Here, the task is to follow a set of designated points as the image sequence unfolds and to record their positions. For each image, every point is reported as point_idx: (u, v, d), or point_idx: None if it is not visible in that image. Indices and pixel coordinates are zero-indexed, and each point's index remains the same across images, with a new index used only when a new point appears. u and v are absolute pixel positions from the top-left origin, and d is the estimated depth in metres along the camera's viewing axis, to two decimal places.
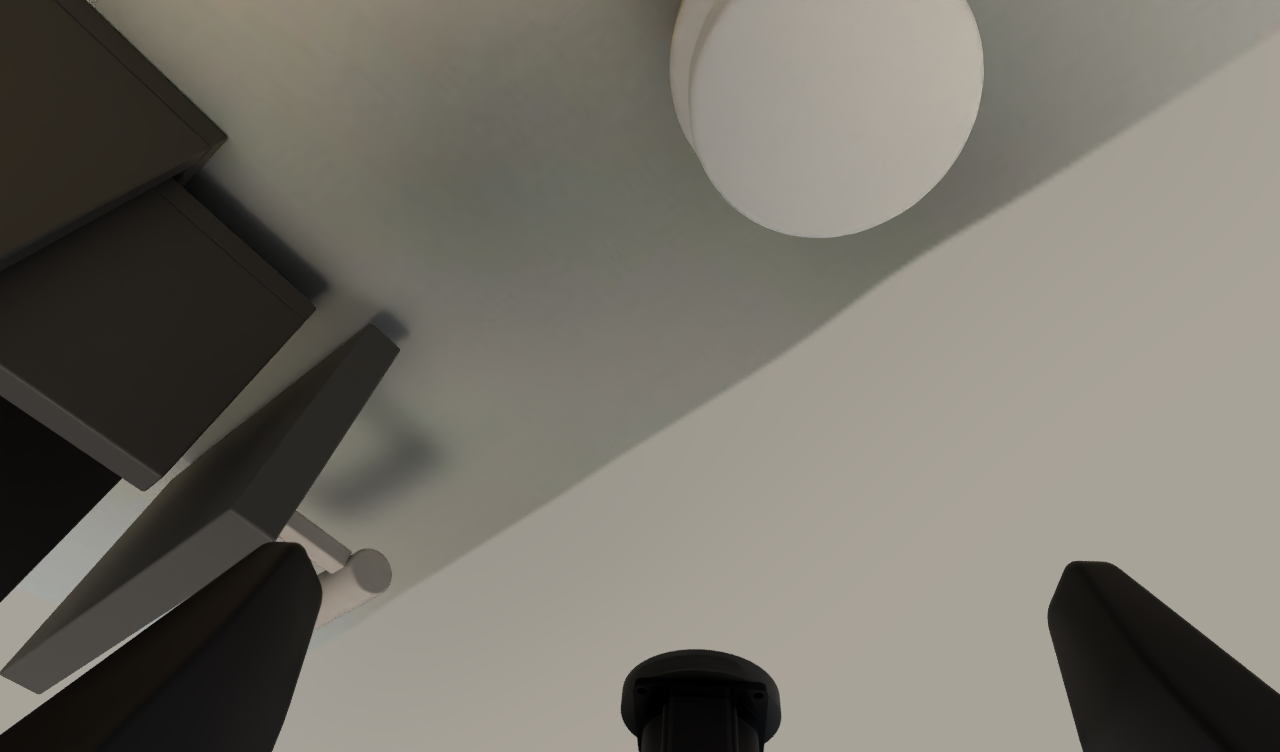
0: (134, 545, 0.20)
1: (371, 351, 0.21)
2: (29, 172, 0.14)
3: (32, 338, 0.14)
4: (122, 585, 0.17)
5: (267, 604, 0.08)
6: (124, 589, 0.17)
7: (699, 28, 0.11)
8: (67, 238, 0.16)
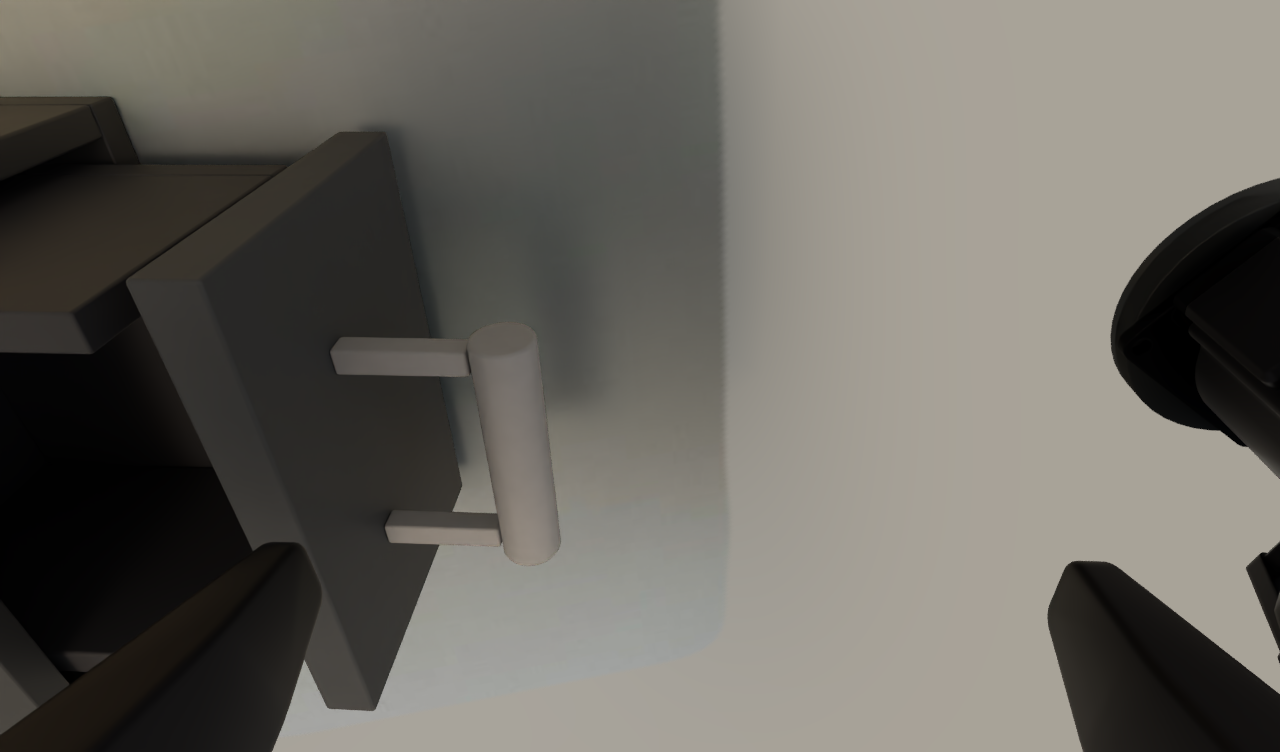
0: None
1: (340, 143, 0.16)
2: None
3: None
4: (230, 502, 0.13)
5: (267, 604, 0.08)
6: (234, 504, 0.13)
7: None
8: None
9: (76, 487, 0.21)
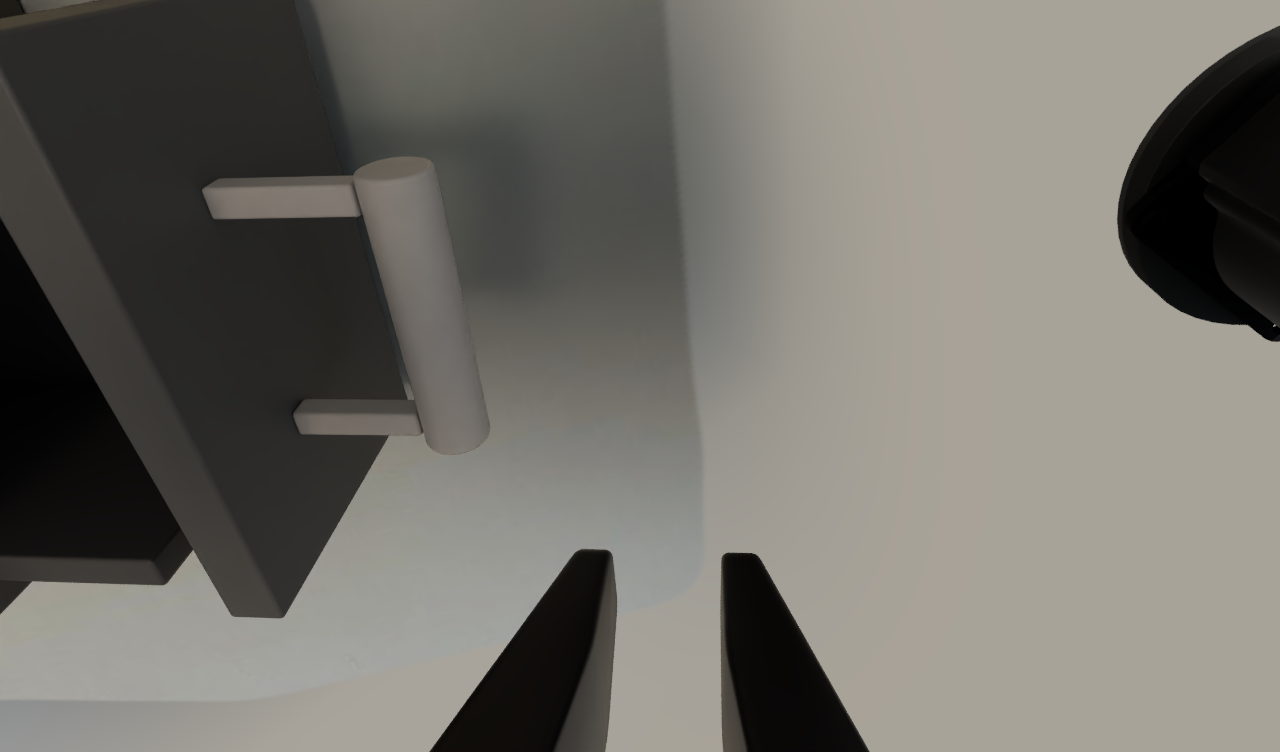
0: None
1: None
2: None
3: None
4: (77, 347, 0.12)
5: (604, 615, 0.08)
6: (81, 350, 0.11)
7: None
8: None
9: None
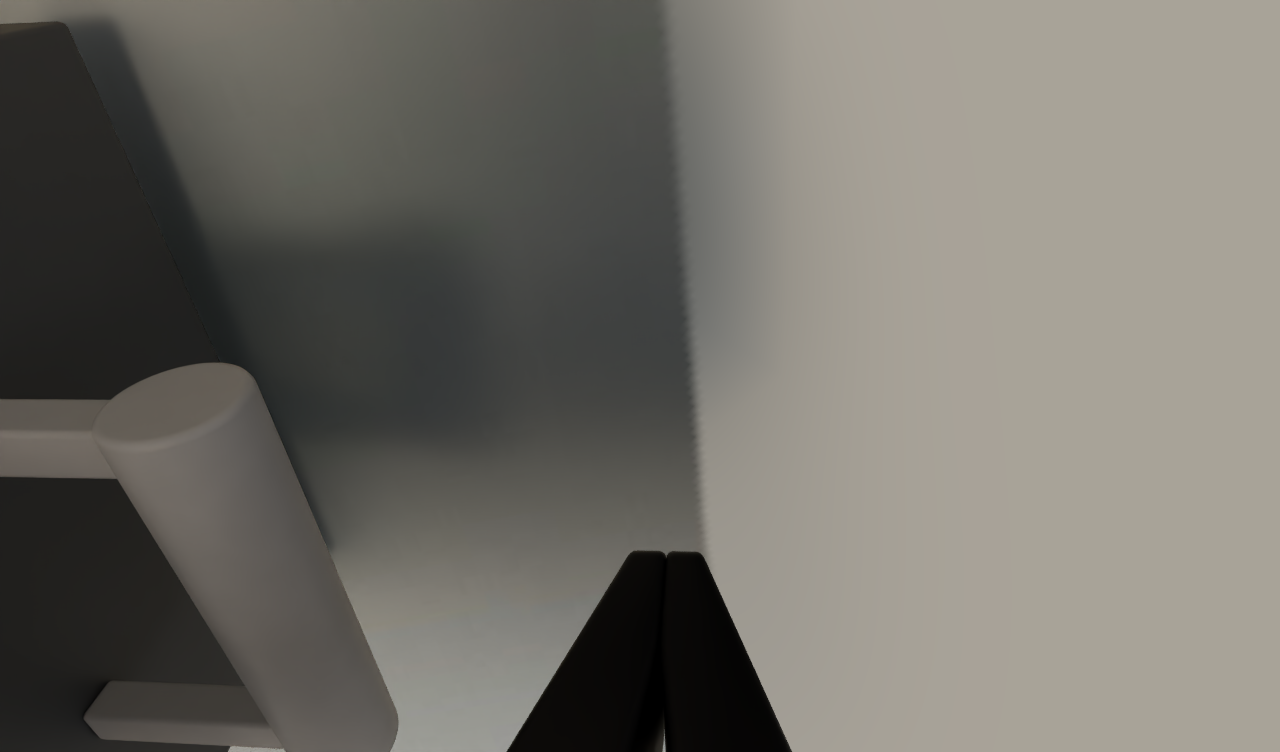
0: None
1: None
2: None
3: None
4: None
5: None
6: None
7: None
8: None
9: None
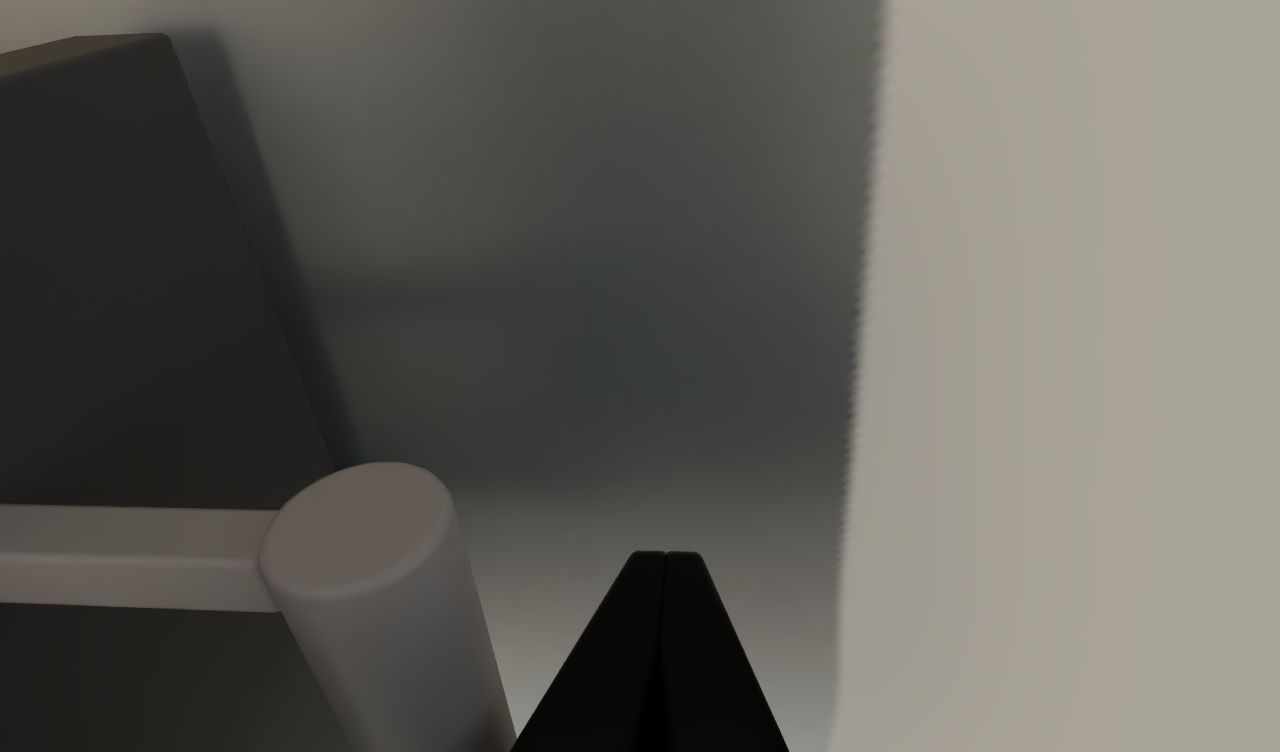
0: None
1: (44, 51, 0.07)
2: None
3: None
4: None
5: None
6: None
7: None
8: None
9: None
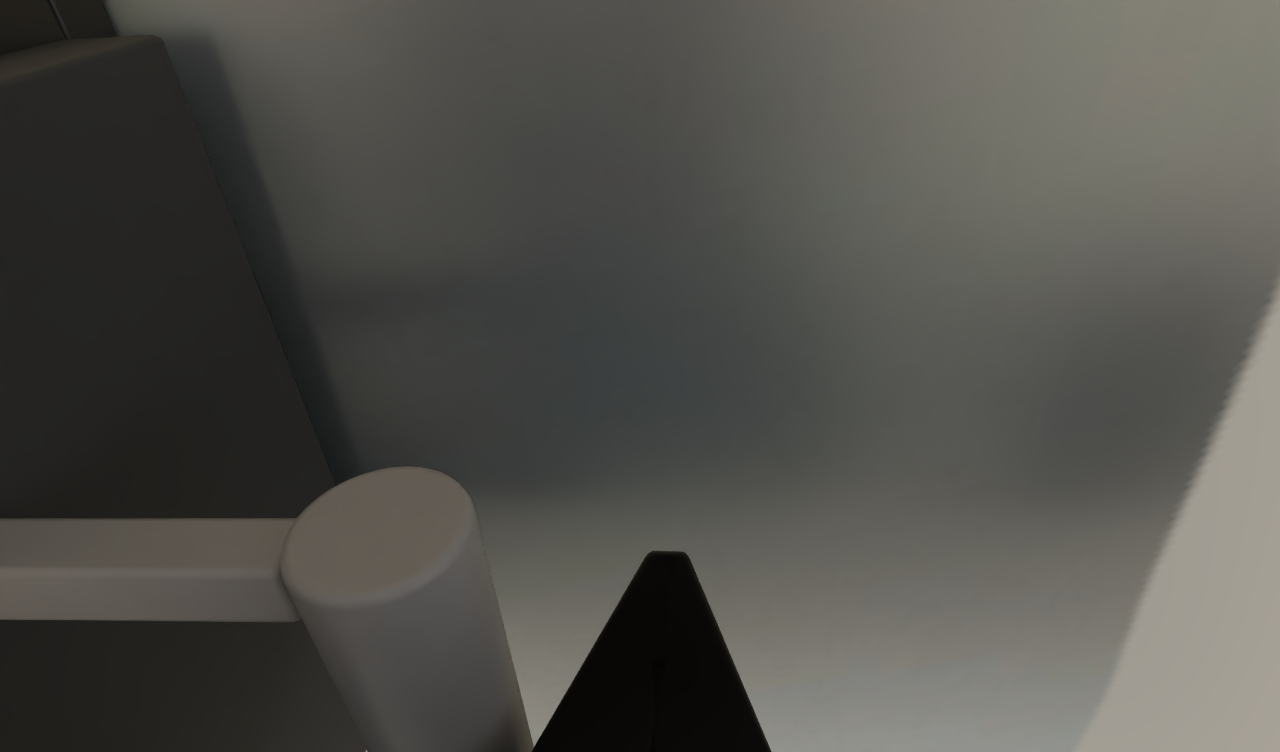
0: None
1: (34, 54, 0.07)
2: None
3: None
4: None
5: None
6: None
7: None
8: None
9: None
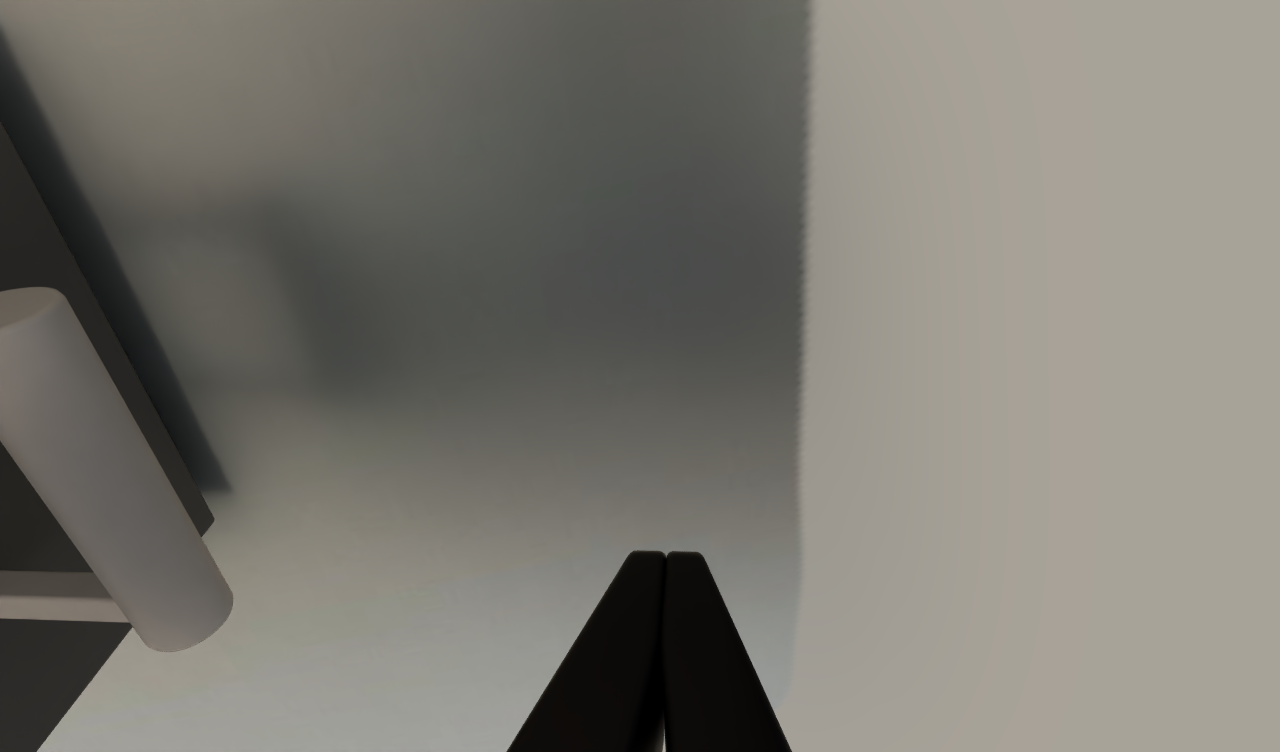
0: None
1: None
2: None
3: None
4: None
5: None
6: None
7: None
8: None
9: None
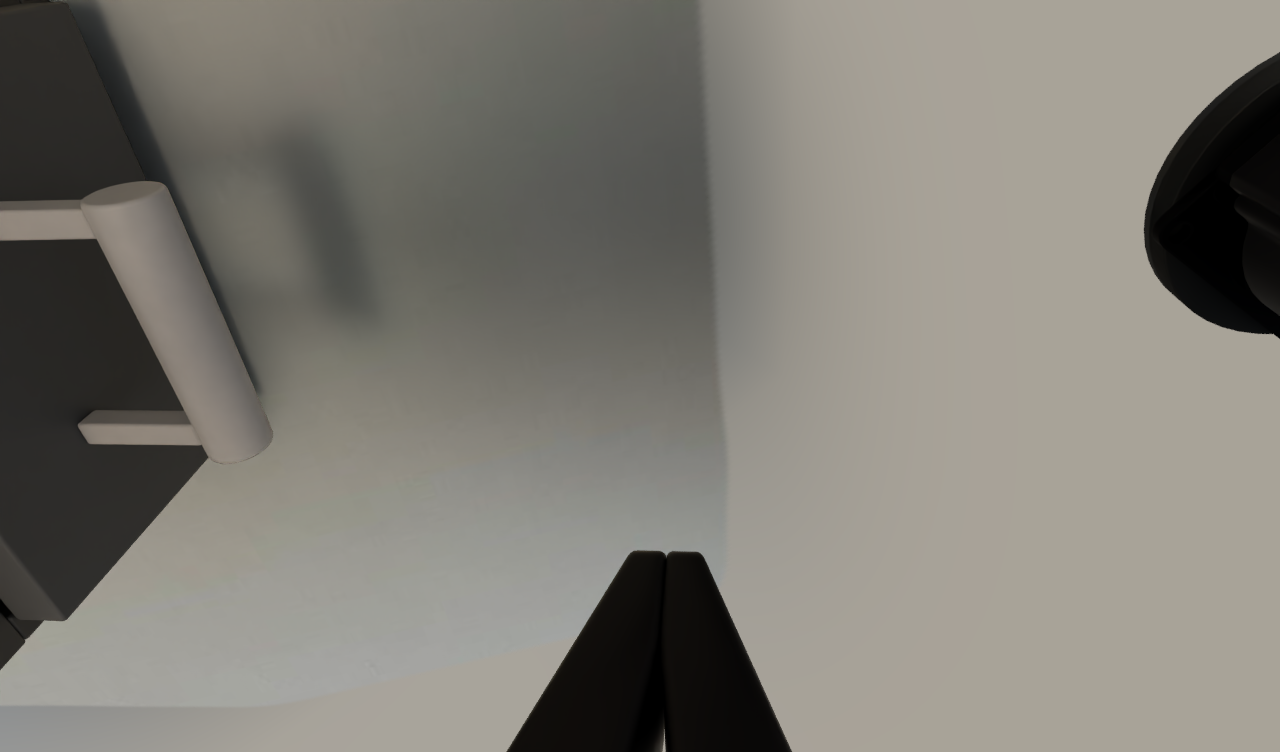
0: None
1: (0, 8, 0.15)
2: None
3: None
4: None
5: None
6: None
7: None
8: None
9: None
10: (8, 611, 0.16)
